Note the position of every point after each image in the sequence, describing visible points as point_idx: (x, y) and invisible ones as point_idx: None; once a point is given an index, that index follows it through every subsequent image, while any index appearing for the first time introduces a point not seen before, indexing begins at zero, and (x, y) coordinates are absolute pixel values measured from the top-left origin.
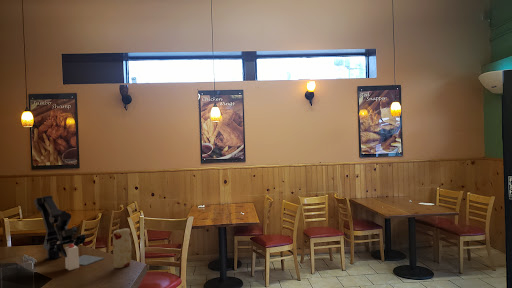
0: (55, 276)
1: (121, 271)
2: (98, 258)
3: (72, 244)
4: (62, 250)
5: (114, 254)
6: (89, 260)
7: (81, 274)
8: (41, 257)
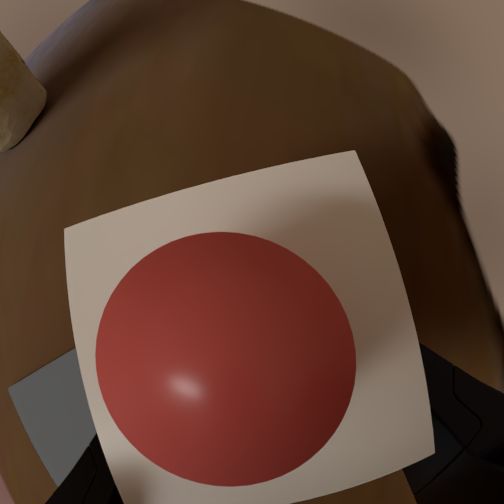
0: (409, 178)
1: (58, 66)
2: (34, 409)
3: (159, 304)
4: (463, 373)
5: (9, 43)
6: (92, 422)
7: (223, 100)
8: None
